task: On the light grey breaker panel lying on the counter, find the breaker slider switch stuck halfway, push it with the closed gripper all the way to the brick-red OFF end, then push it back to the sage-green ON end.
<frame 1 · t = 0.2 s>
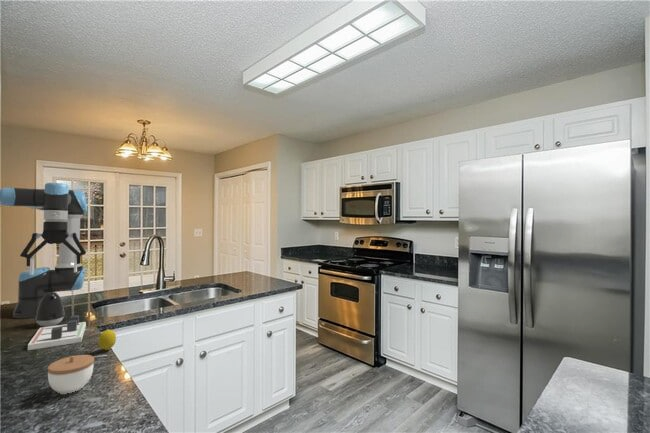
hand: (54, 273, 129), 27 cm above the counter, tool pointing down, fingers open, 13 cm apart
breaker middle: (72, 325, 135), point 4 cm above the counter, slide at 4.0 cm
lidded jar: (71, 389, 93), on the counter
breaker panel: (59, 336, 133), on the counter
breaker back: (74, 320, 142), point 4 cm above the counter, slide at 4.0 cm
lemon: (106, 351, 120), on the counter
breaker slider switch: (56, 332, 126), point 4 cm above the counter, slide at 0.0 cm
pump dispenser: (50, 325, 147), on the counter
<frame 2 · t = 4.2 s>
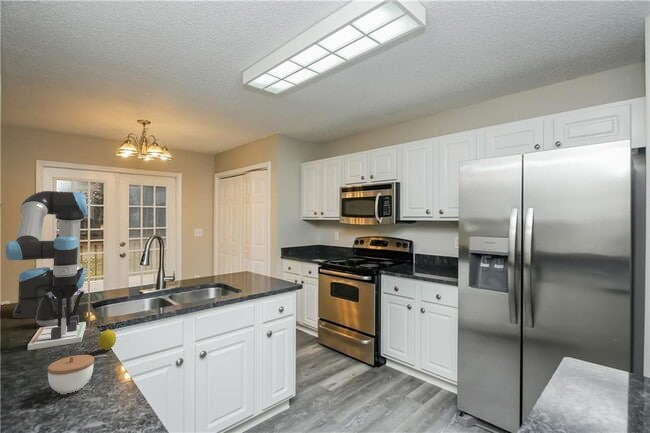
hand: (63, 333, 127), 3 cm above the counter, tool pointing down, fingers closed
breaker slider switch: (56, 332, 126), point 4 cm above the counter, slide at -0.1 cm, touching gripper
everything else where it was.
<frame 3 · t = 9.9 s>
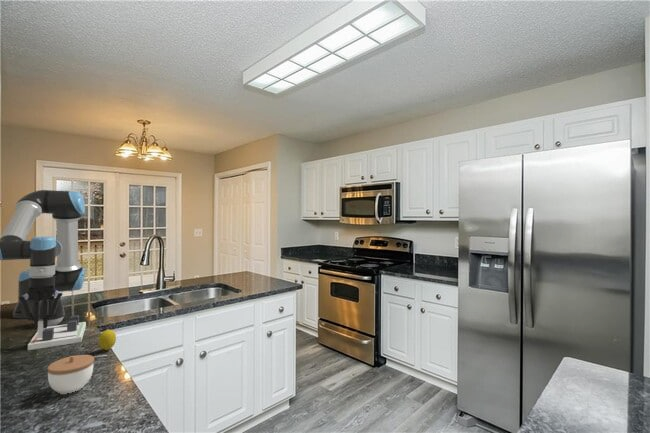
hand: (40, 336, 124), 3 cm above the counter, tool pointing down, fingers closed
breaker slider switch: (48, 334, 125), point 4 cm above the counter, slide at -2.6 cm, touching gripper
everything else where it was.
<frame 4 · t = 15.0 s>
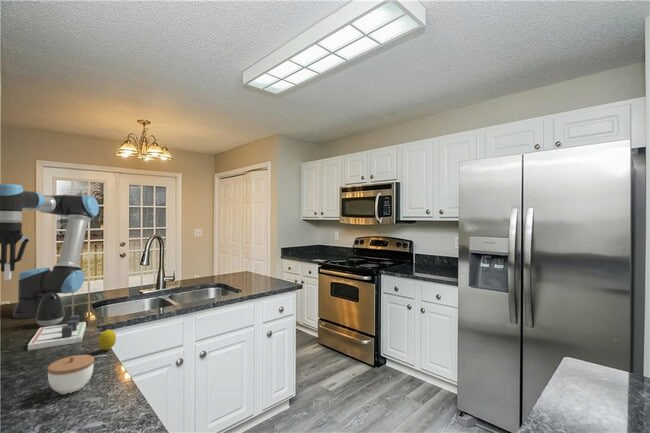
hand: (7, 279, 130), 24 cm above the counter, tool pointing down, fingers closed
breaker slider switch: (67, 331, 128), point 4 cm above the counter, slide at 3.2 cm
everything else where it was.
at the end: breaker slider switch slide at 3.2 cm; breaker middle slide at 4.0 cm; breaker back slide at 4.0 cm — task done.
